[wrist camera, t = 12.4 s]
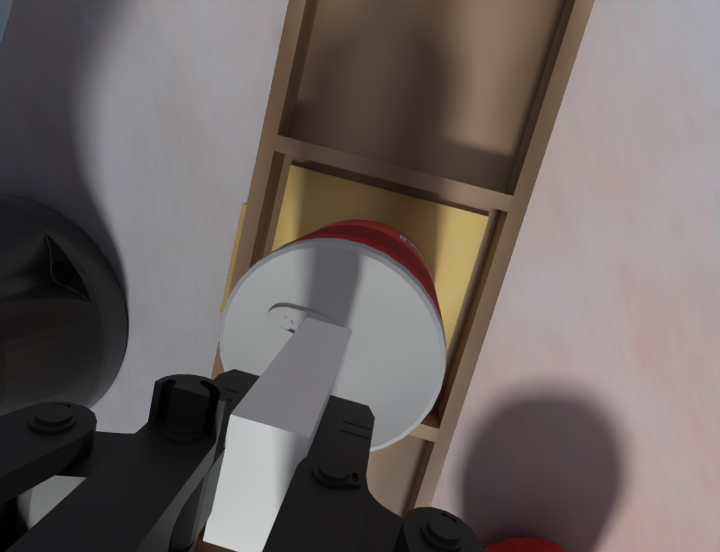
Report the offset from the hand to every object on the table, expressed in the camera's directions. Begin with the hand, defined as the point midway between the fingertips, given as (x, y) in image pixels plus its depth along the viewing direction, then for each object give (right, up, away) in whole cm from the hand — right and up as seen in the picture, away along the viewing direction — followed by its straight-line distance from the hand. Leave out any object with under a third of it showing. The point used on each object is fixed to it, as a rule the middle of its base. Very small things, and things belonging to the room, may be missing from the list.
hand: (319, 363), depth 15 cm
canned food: (+1, +2, +12) cm, 12 cm away
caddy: (+2, +2, +13) cm, 13 cm away
